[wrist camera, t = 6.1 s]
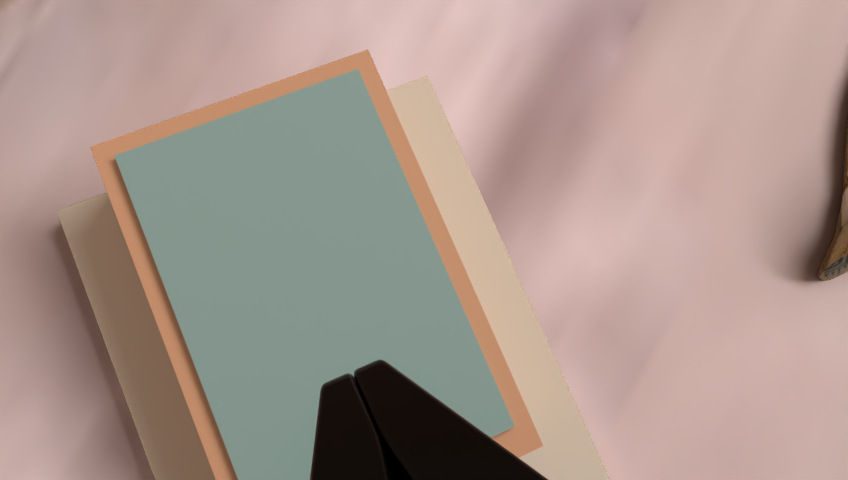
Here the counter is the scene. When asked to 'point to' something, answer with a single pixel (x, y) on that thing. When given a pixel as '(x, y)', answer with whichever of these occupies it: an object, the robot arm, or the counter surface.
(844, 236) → the ceramic fragment
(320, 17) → the counter surface
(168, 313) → the block
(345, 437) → the robot arm
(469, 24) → the counter surface
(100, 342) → the counter surface
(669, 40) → the counter surface
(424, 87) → the mat
